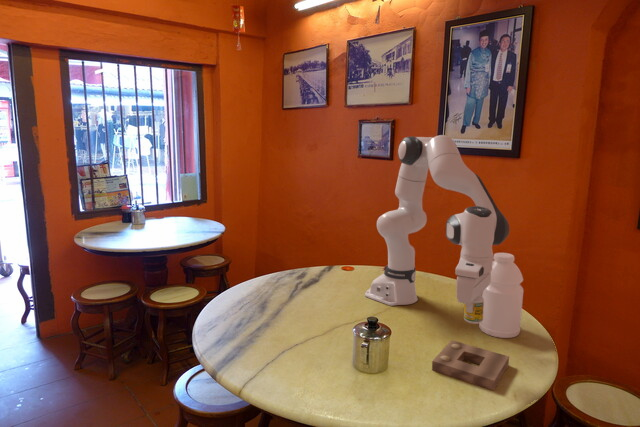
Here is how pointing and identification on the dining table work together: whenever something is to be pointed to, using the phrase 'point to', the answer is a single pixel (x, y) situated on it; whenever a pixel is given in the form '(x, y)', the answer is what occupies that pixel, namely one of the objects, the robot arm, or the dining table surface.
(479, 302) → the supplement bottle
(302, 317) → the dining table surface
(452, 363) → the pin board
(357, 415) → the dining table surface
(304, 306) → the dining table surface
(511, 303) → the bottle
